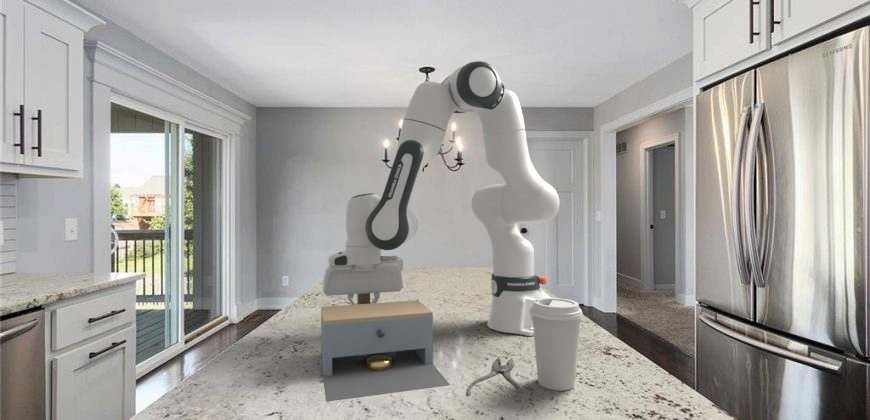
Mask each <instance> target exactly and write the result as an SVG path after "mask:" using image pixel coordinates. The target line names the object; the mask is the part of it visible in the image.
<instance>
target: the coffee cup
mask: <svg viewBox="0 0 870 420" xmlns="http://www.w3.org/2000/svg"><path fill="white" fill-rule="evenodd" d="M583 313H584V312H583V311H582V309H581V308H580V304H579V302H577V301H574V300H572V299H569V298H568V299H567V298H559V297H552V298H541V299H537V300H535V301H534V304H533V306H532V307H531V309H530V314H531V315H532V319H533V329H534V335H533V336H534V337H533V338H534V350H535V362H536V372H537V373H536V374H537V375H536V376H537V383H538V385H540V386H541V387H543V388H545V389H548V390H550V391H556V392H557V391H560V392H562V391H564V392H565V391H569V390H572V389H574V387H575V382H576V371H577V363H578V362H577V361H578V360H577V359H578V347H579V337H580V329H581V319H582V318H584V314H583Z"/></svg>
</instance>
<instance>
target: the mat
mask: <svg viewBox="0 0 870 420" xmlns="http://www.w3.org/2000/svg"><path fill="white" fill-rule="evenodd" d="M323 381H324V390H325V391H324V392H325V401H326V402H333V401H341V400H348V399H355V398H364V397H371V396H378V395H379V396H380V395H386V394H392V393H393V394H394V393H401V392H408V391H410V392H411V391H415V390H422V389H423V390H424V389H431V388H439V387H446V386H447V387H448V386H450V385H451V383H449V380H447V378H445V376H444V375H443V374H442V373H441V372H440V371H439V369H438V368H437V367H436V366H435V364H434V363H433V364H425V363H424V362H423V361H422V359H421V358H420V357H419V355H418V354H417V353H416V351H415V350H414V349H412V350H403V351H396V359H392V360H391V368H390V369H388V370H384V371H371V370H368V369H367V362H364V363H357V355H354V356H345V357H335V358H332V375H330V376H324V375H323Z"/></svg>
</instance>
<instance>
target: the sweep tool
mask: <svg viewBox="0 0 870 420" xmlns="http://www.w3.org/2000/svg"><path fill="white" fill-rule="evenodd" d="M370 302H371V293H364V294H356V303H357V304H370ZM373 355H388V356H390V357H391V360H392V359H396V351H393V352H383V353H374V354H364V355H357V363H364V362H367V358H368V357H370V356H373Z"/></svg>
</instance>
